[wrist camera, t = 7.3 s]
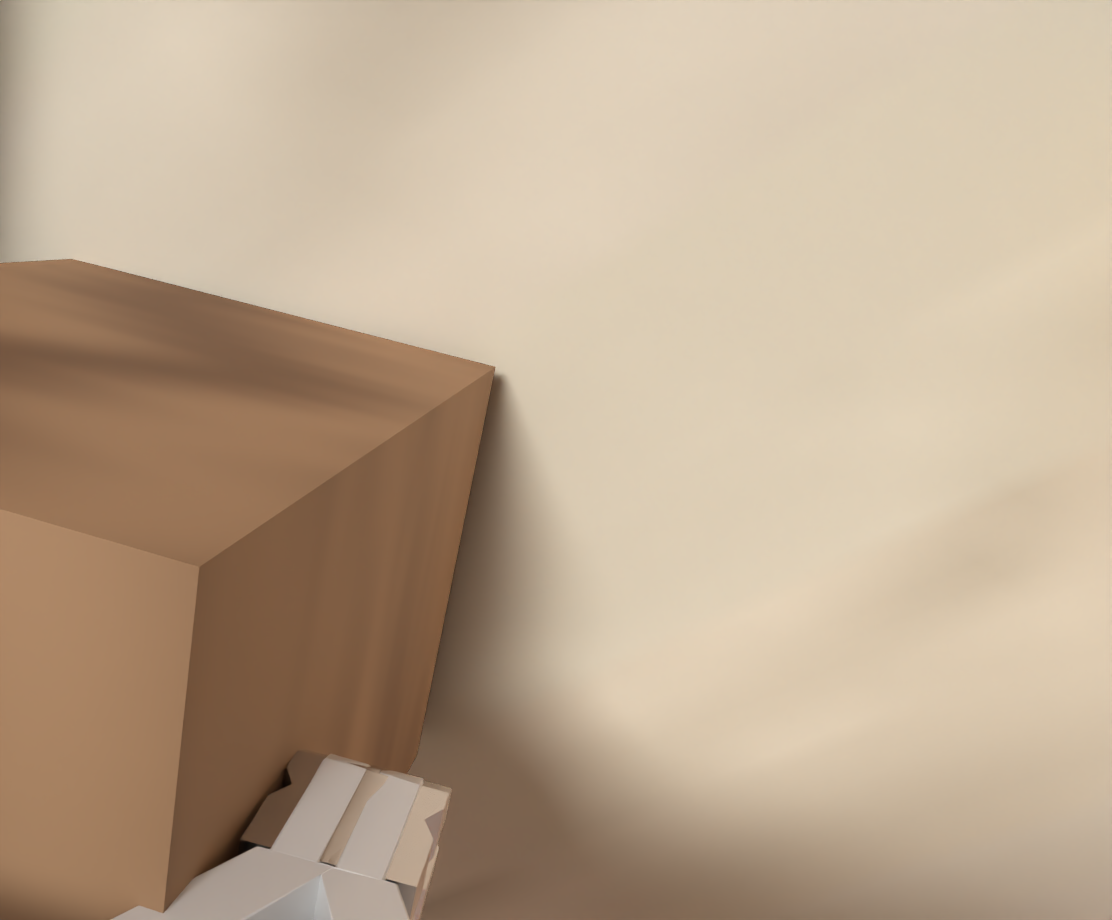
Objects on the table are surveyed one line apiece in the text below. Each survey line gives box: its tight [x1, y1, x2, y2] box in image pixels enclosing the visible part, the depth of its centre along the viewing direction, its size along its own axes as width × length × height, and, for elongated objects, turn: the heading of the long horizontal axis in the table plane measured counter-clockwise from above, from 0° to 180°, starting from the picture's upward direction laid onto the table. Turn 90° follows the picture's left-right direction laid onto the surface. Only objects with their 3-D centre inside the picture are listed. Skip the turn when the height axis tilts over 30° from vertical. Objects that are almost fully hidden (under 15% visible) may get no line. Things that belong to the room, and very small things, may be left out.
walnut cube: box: [0, 259, 495, 920], centre depth 12 cm, size 8×8×9 cm
